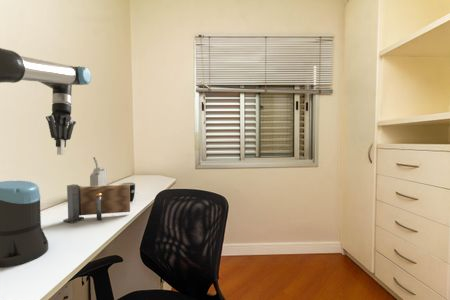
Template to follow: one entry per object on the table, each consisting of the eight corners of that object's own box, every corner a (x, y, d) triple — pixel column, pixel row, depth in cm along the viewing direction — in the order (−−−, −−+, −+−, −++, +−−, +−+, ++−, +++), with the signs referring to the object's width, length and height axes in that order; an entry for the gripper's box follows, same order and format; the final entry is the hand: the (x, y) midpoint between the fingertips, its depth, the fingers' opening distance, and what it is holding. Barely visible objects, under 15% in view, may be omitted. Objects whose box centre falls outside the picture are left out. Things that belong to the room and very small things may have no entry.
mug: (132, 203, 137) (132, 185, 137) (116, 203, 136) (115, 185, 136) (138, 197, 149) (138, 181, 149) (123, 198, 148) (122, 181, 148)
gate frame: (87, 225, 104) (86, 188, 103) (63, 221, 108) (62, 185, 107) (103, 219, 112) (102, 184, 110) (79, 215, 116) (78, 182, 115)
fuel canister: (97, 199, 145) (96, 157, 143) (88, 199, 145) (87, 157, 143) (107, 193, 160) (106, 155, 159) (99, 193, 160) (98, 155, 158)
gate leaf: (76, 215, 111) (75, 186, 110) (77, 214, 113) (76, 185, 112) (129, 212, 117) (129, 184, 116) (130, 210, 119) (129, 183, 118)
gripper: (69, 109, 122) (68, 156, 119) (41, 102, 110) (39, 153, 107) (80, 106, 120) (79, 154, 116) (53, 98, 108) (51, 151, 104)
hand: (60, 154), depth 112 cm, fingers closed
